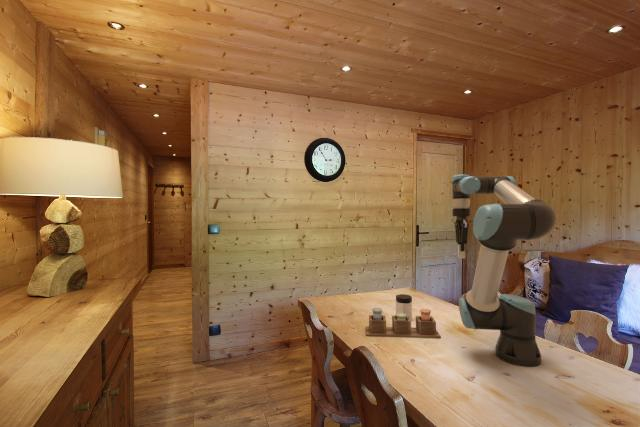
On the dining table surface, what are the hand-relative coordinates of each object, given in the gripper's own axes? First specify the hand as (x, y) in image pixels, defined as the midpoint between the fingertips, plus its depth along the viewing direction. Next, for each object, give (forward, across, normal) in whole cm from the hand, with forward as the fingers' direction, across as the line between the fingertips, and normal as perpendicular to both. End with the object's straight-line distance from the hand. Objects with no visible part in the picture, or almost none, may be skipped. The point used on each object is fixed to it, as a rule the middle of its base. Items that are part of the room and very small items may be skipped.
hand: (461, 258), depth 150 cm
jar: (+35, +14, +25) cm, 45 cm away
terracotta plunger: (+30, -5, +18) cm, 36 cm away
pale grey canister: (+30, -5, +40) cm, 50 cm away
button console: (+34, -5, +29) cm, 45 cm away
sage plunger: (+33, -5, +29) cm, 44 cm away
